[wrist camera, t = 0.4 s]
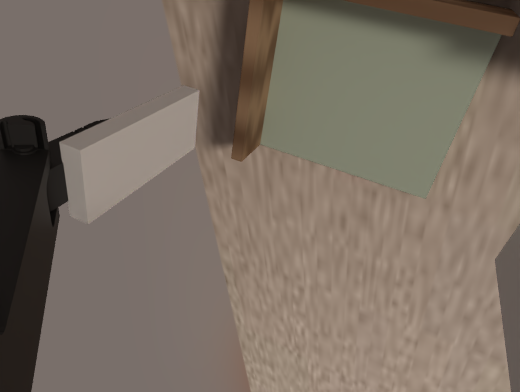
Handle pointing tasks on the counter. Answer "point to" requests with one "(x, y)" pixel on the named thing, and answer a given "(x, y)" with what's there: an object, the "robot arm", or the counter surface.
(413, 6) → the walls
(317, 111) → the mat
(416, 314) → the counter surface
